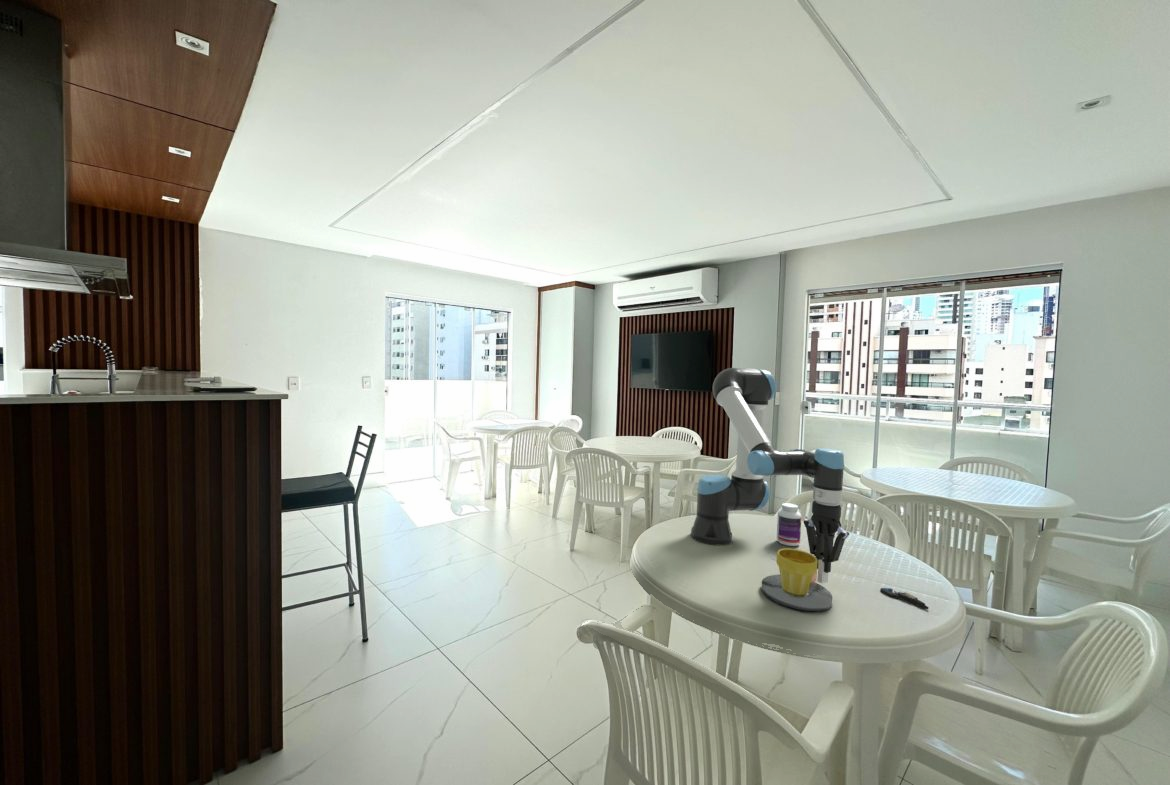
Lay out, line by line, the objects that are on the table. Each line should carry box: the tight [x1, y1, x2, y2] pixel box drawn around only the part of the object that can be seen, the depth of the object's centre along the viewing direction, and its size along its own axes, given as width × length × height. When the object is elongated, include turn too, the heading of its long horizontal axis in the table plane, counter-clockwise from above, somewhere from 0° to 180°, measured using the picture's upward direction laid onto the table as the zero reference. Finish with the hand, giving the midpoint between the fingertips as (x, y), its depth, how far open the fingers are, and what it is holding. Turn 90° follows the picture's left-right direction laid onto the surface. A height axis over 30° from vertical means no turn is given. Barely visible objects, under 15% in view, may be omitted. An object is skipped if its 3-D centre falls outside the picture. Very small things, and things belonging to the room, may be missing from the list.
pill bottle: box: [776, 502, 802, 547], centre depth 167 cm, size 8×8×14 cm
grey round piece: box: [761, 570, 833, 612], centre depth 128 cm, size 18×23×6 cm
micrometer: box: [880, 587, 929, 610], centre depth 127 cm, size 12×2×5 cm
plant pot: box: [776, 548, 818, 595], centre depth 125 cm, size 10×10×10 cm
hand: (822, 581), depth 132 cm, fingers closed
